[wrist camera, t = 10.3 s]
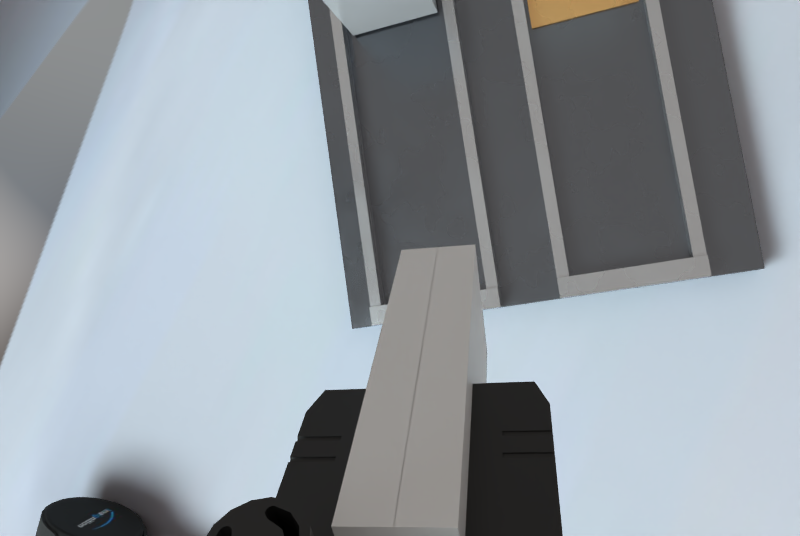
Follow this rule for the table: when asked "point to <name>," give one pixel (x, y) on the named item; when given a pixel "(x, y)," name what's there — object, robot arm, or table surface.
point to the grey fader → (378, 12)
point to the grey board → (535, 147)
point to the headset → (89, 519)
